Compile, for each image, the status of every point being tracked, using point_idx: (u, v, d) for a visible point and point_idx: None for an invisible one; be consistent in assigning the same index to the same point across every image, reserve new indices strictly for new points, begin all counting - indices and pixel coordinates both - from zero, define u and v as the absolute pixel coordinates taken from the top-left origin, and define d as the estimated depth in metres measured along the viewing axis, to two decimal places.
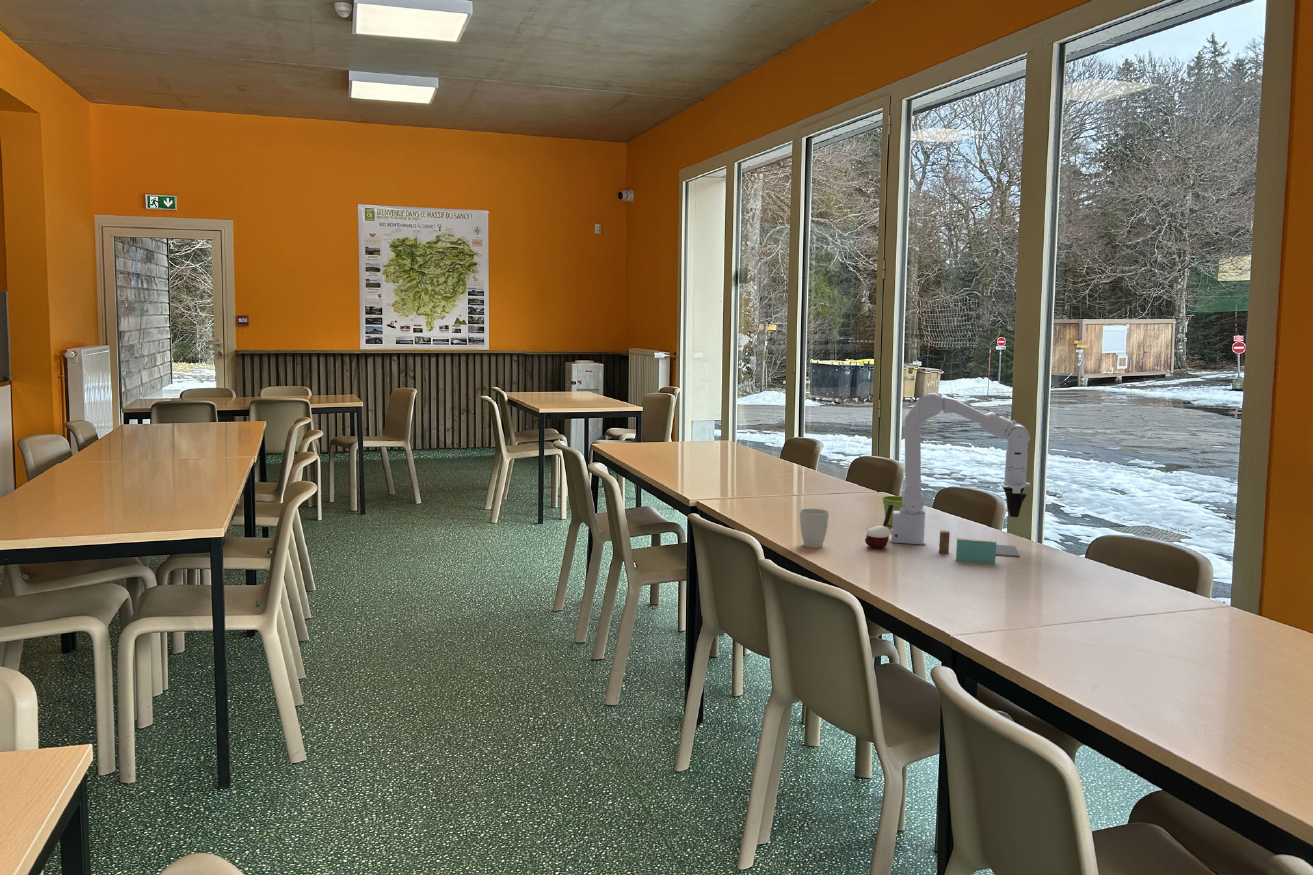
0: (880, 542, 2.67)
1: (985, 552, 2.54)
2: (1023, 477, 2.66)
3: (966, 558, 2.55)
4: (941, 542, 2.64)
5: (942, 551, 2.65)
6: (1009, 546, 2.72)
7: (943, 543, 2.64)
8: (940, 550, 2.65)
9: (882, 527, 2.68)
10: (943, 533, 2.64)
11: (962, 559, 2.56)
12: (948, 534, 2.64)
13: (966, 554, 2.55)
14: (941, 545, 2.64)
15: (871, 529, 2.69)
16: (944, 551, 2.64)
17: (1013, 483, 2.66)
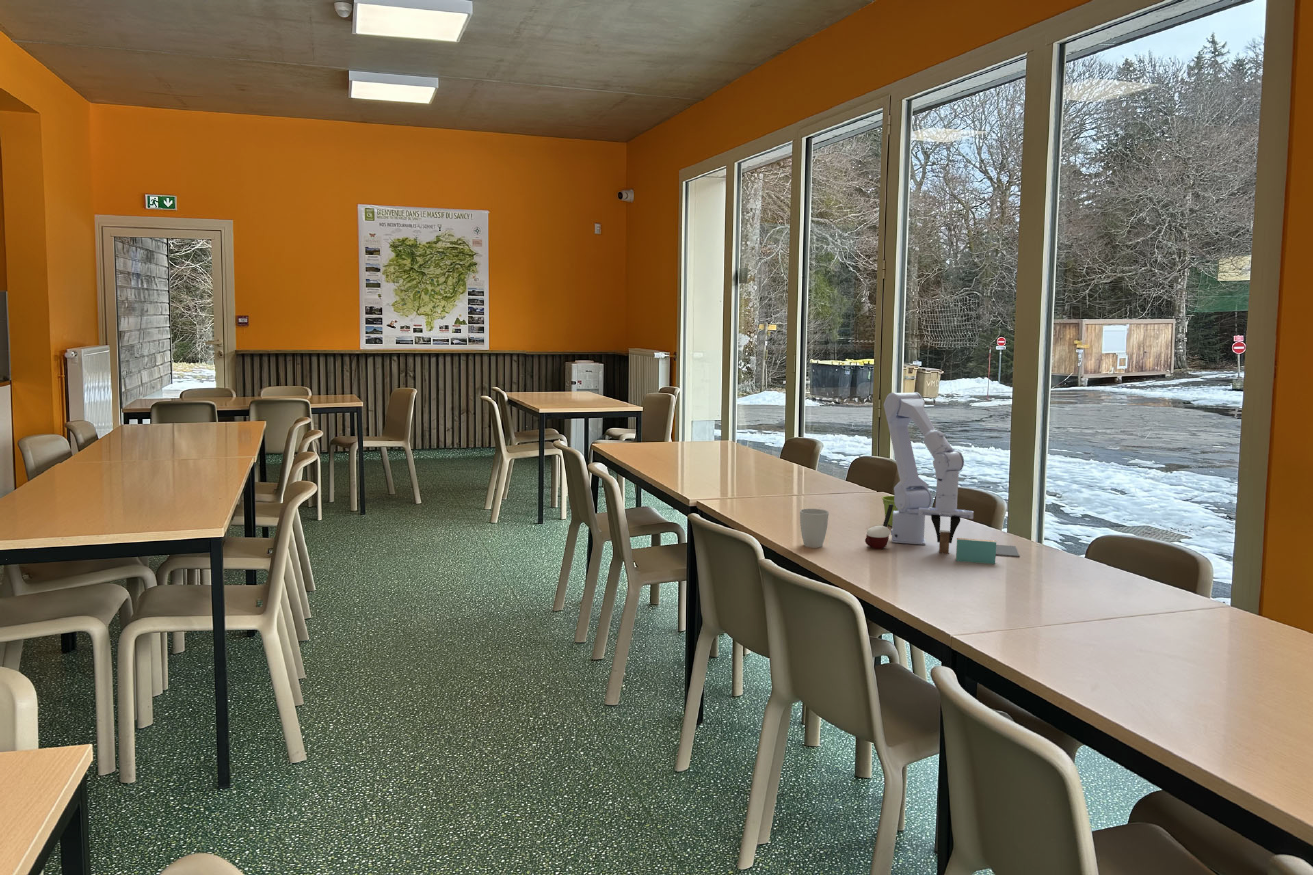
0: (880, 542, 2.67)
1: (985, 552, 2.54)
2: (939, 504, 2.63)
3: (966, 558, 2.55)
4: (941, 542, 2.64)
5: (942, 551, 2.65)
6: (1009, 546, 2.72)
7: (943, 543, 2.64)
8: (940, 550, 2.65)
9: (882, 527, 2.68)
10: (943, 533, 2.64)
11: (962, 559, 2.56)
12: (948, 534, 2.64)
13: (966, 554, 2.55)
14: (941, 545, 2.64)
15: (871, 529, 2.69)
16: (944, 551, 2.64)
17: None
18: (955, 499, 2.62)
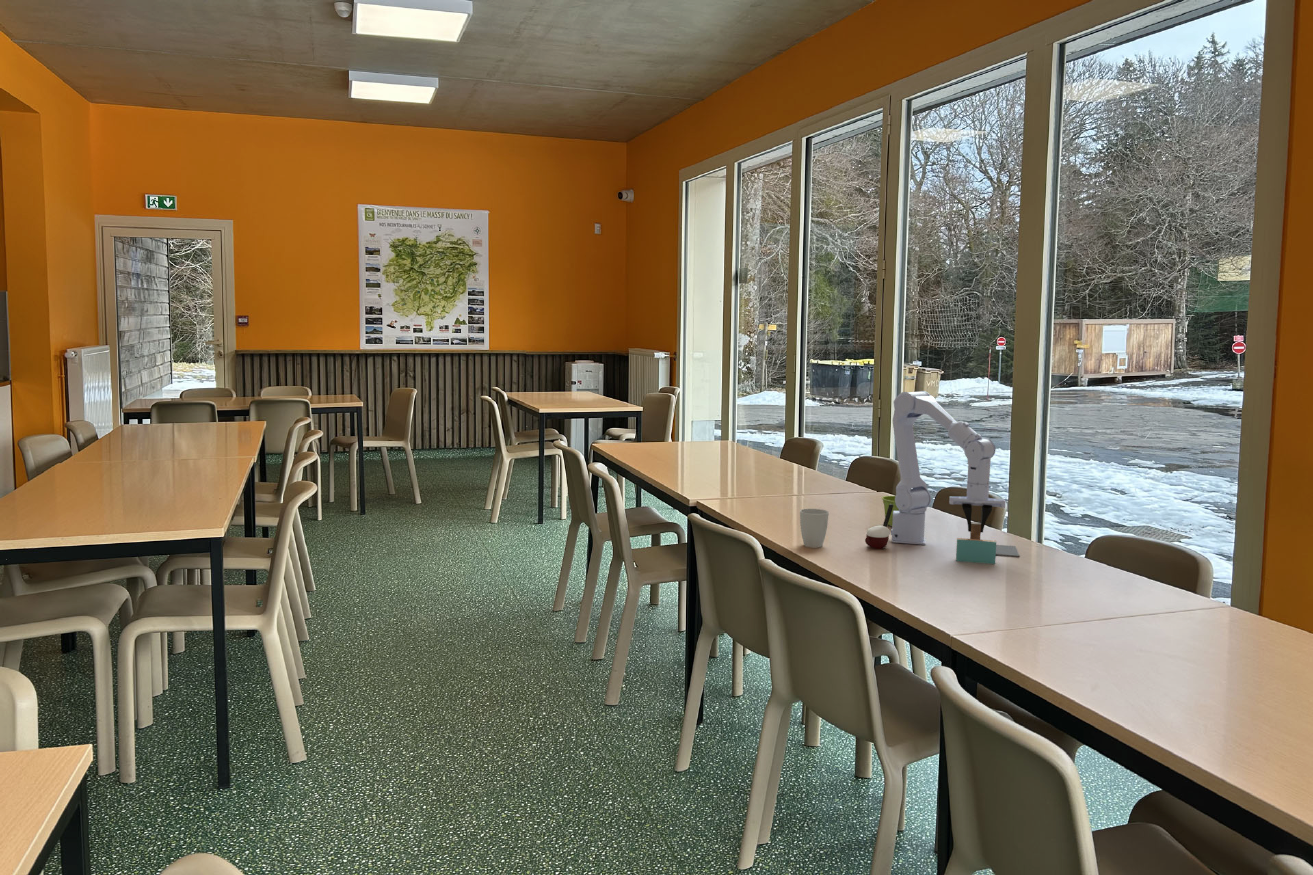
0: (880, 542, 2.67)
1: (985, 552, 2.54)
2: (970, 492, 2.59)
3: (966, 558, 2.55)
4: (972, 534, 2.60)
5: None
6: (1009, 546, 2.72)
7: (975, 535, 2.60)
8: None
9: (882, 527, 2.68)
10: (974, 525, 2.60)
11: (962, 559, 2.56)
12: (979, 526, 2.59)
13: (966, 554, 2.55)
14: (972, 537, 2.60)
15: (871, 529, 2.69)
16: None
17: None
18: (987, 487, 2.58)
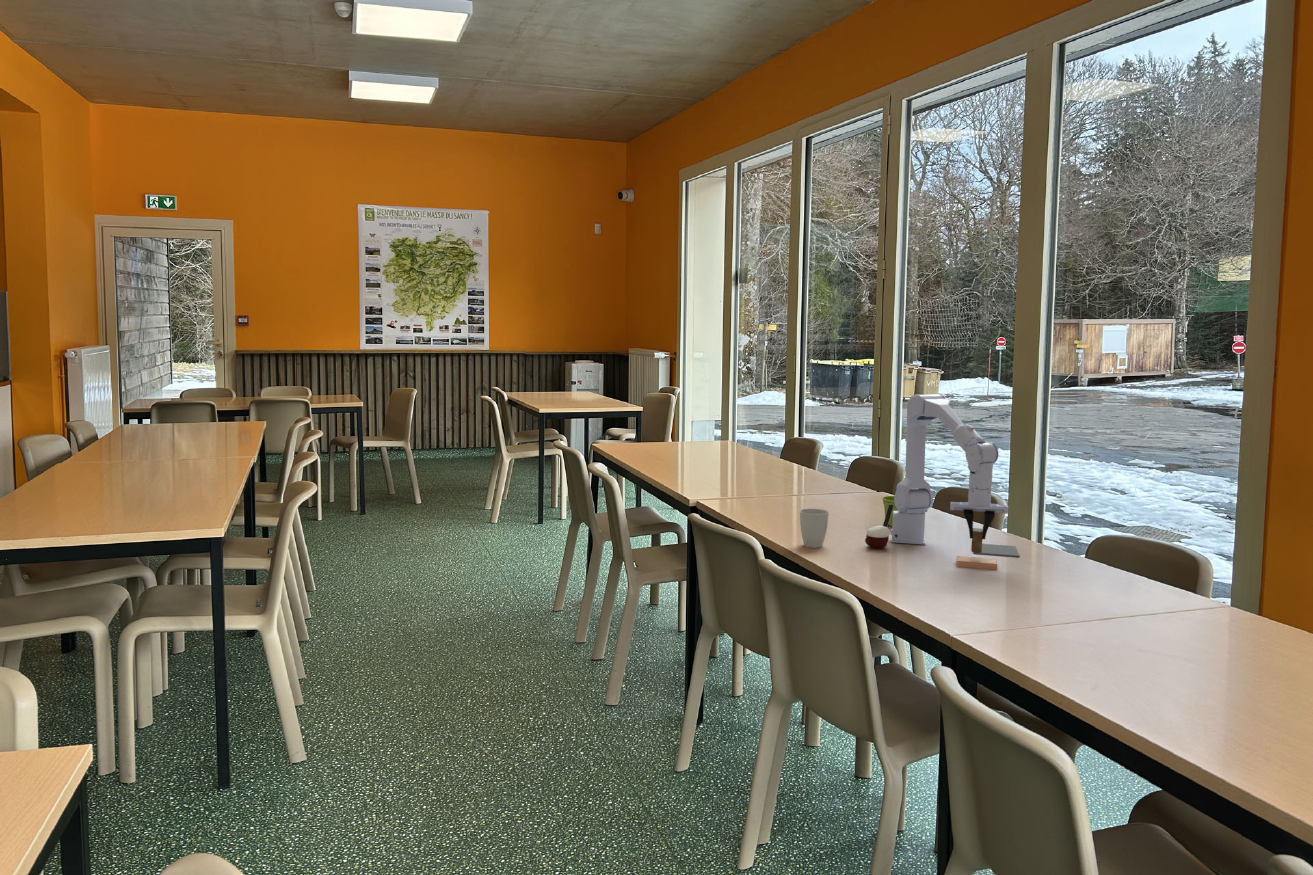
0: (880, 542, 2.67)
1: None
2: (972, 498, 2.50)
3: None
4: (974, 541, 2.52)
5: (975, 550, 2.53)
6: (1009, 546, 2.72)
7: (976, 543, 2.52)
8: (972, 549, 2.53)
9: (882, 527, 2.68)
10: (976, 532, 2.52)
11: None
12: (981, 533, 2.51)
13: None
14: (974, 544, 2.53)
15: (871, 529, 2.69)
16: (977, 550, 2.53)
17: None
18: (989, 493, 2.49)
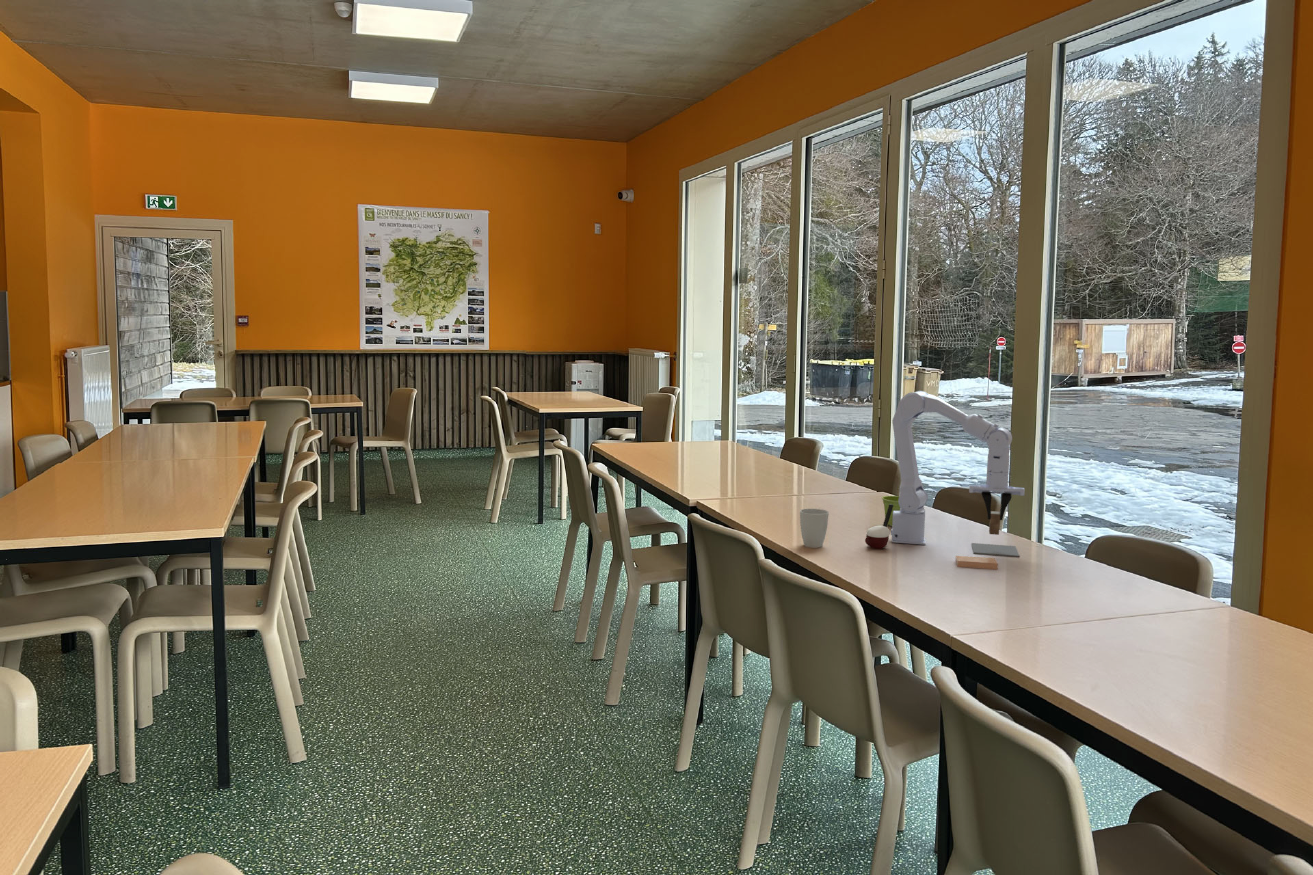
0: (880, 542, 2.67)
1: None
2: (990, 481, 2.63)
3: None
4: (991, 523, 2.65)
5: (992, 532, 2.66)
6: (1009, 546, 2.72)
7: (994, 525, 2.65)
8: (990, 531, 2.66)
9: (882, 527, 2.68)
10: (994, 515, 2.65)
11: None
12: (999, 516, 2.64)
13: None
14: (991, 526, 2.65)
15: (871, 529, 2.69)
16: (994, 532, 2.66)
17: None
18: (1006, 476, 2.62)
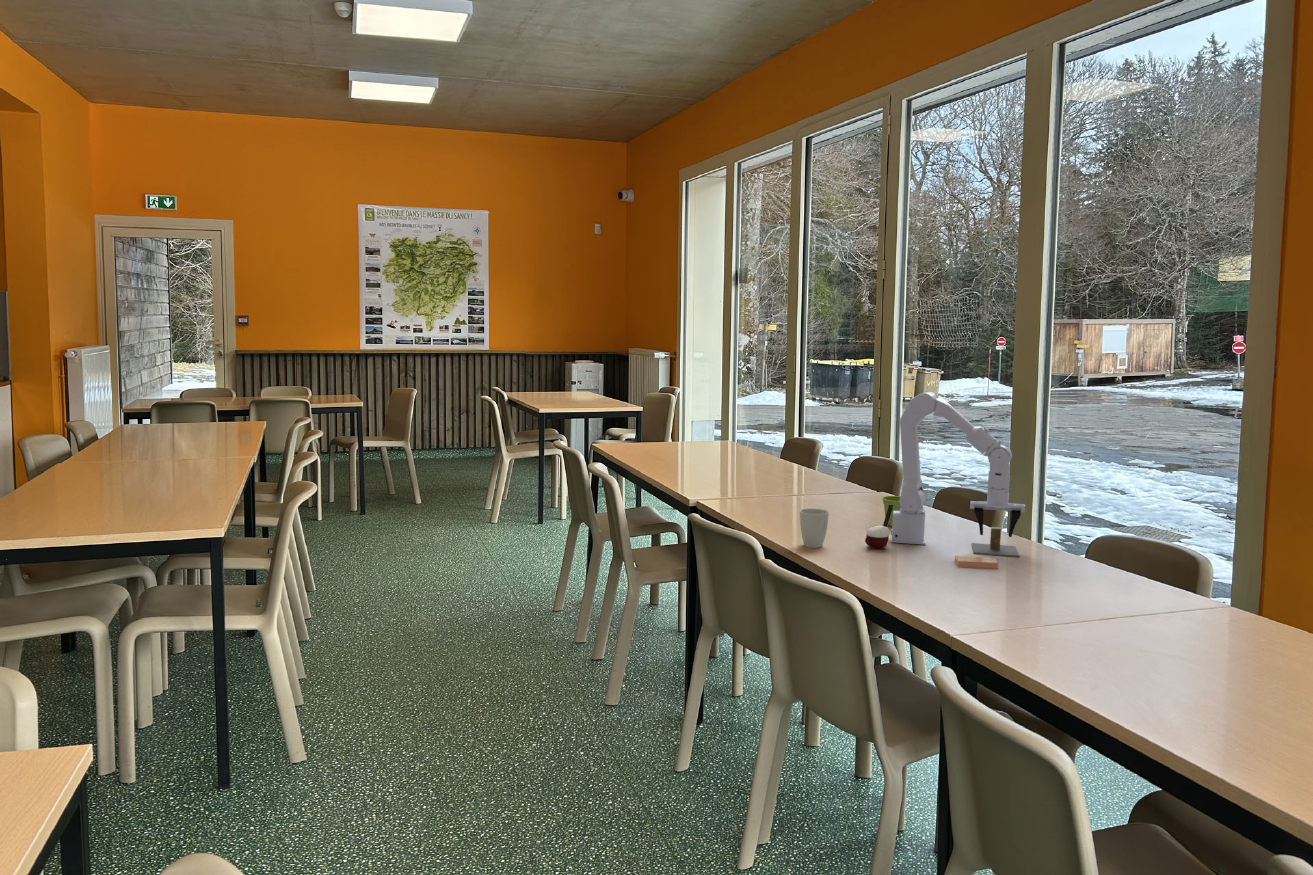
0: (880, 542, 2.67)
1: None
2: (990, 497, 2.65)
3: None
4: (992, 538, 2.68)
5: (993, 547, 2.68)
6: (1009, 546, 2.72)
7: (995, 540, 2.68)
8: (991, 546, 2.68)
9: (882, 527, 2.68)
10: (994, 529, 2.67)
11: None
12: (999, 530, 2.67)
13: None
14: (992, 541, 2.68)
15: (871, 529, 2.69)
16: (995, 547, 2.68)
17: None
18: (1007, 493, 2.64)
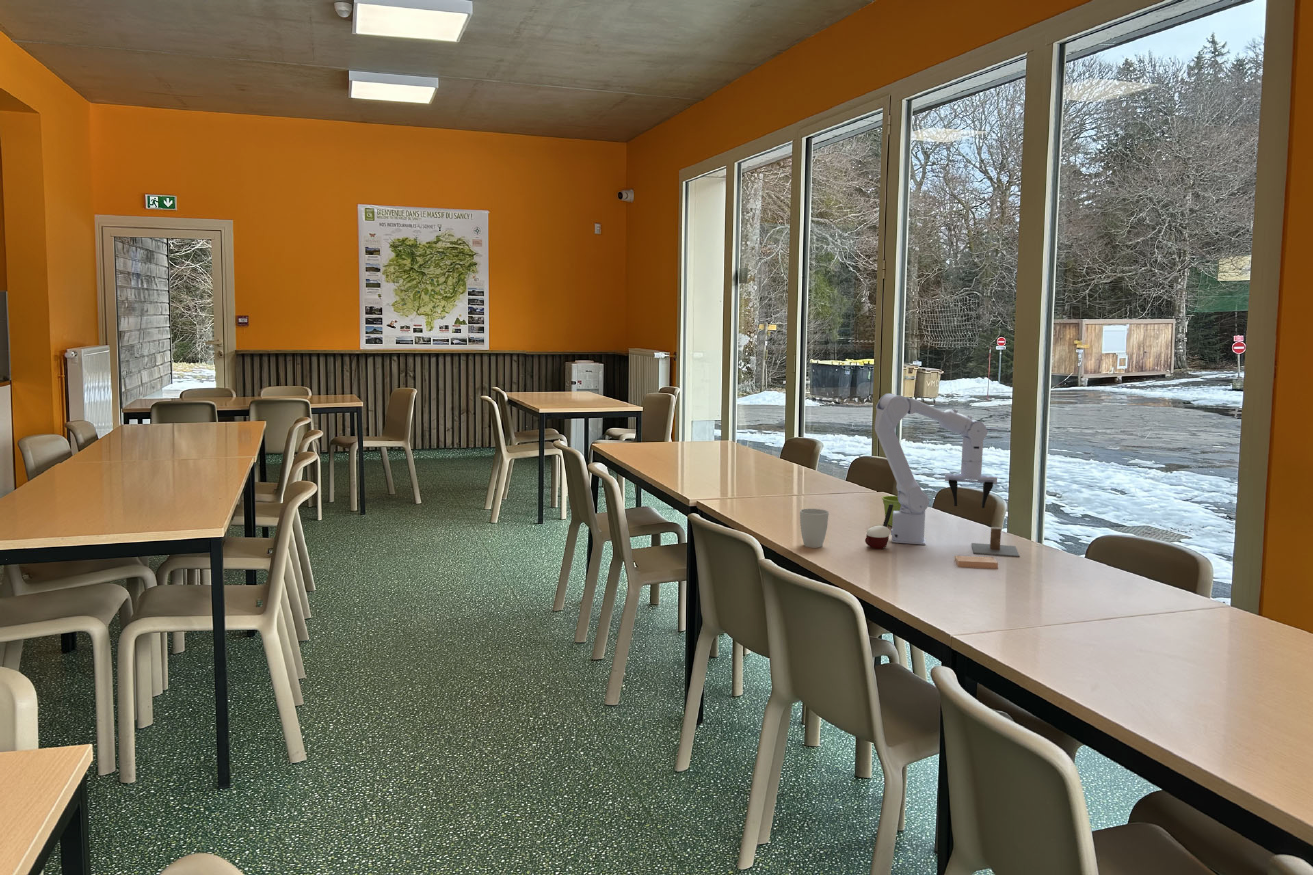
0: (880, 542, 2.67)
1: None
2: (964, 470, 2.76)
3: None
4: (992, 538, 2.68)
5: (993, 547, 2.68)
6: (1009, 546, 2.72)
7: (995, 540, 2.68)
8: (991, 546, 2.68)
9: (882, 527, 2.68)
10: (994, 529, 2.67)
11: None
12: (999, 530, 2.67)
13: None
14: (992, 541, 2.68)
15: (871, 529, 2.69)
16: (995, 547, 2.68)
17: None
18: (980, 465, 2.75)
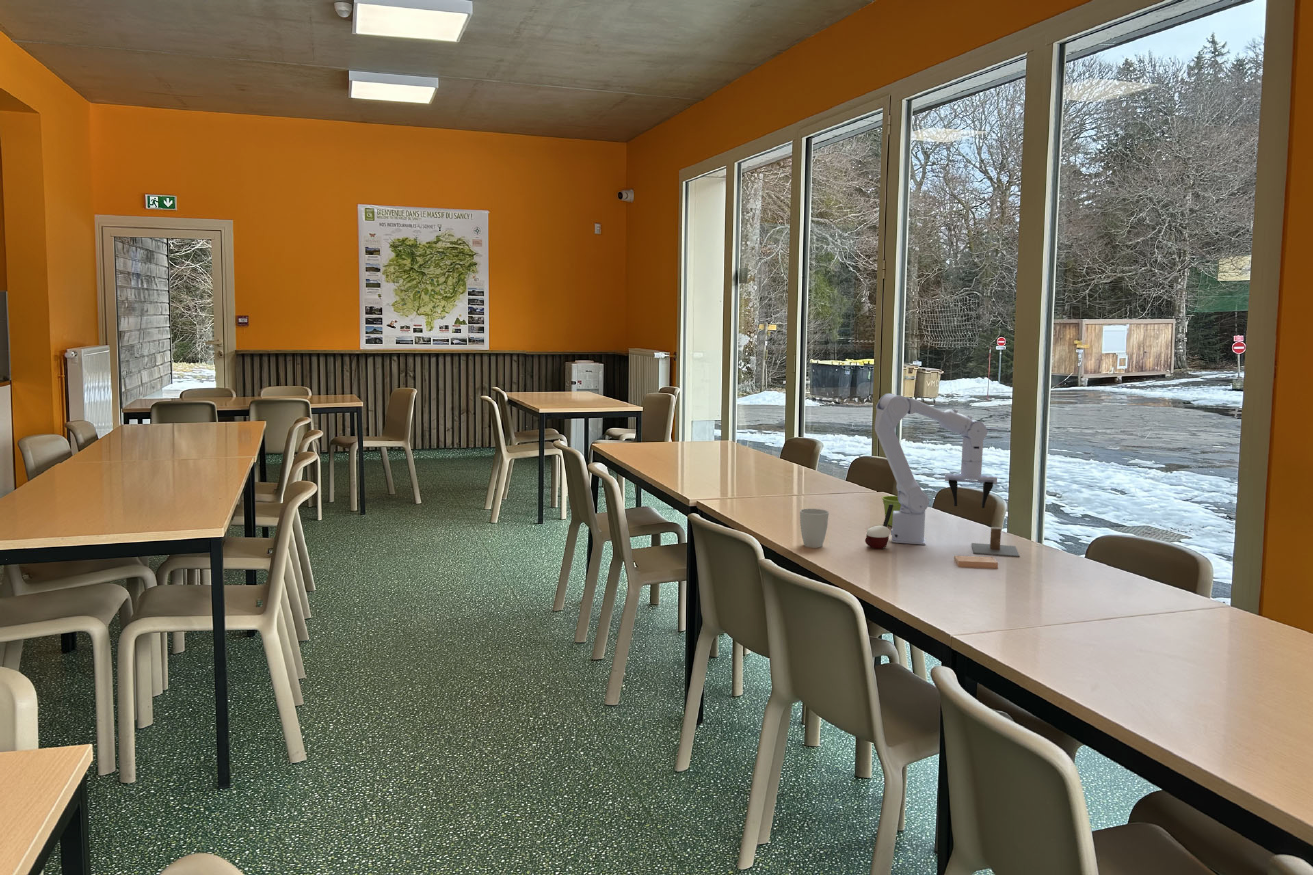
0: (880, 542, 2.67)
1: None
2: (964, 470, 2.76)
3: None
4: (992, 538, 2.68)
5: (993, 547, 2.68)
6: (1009, 546, 2.72)
7: (995, 540, 2.68)
8: (991, 546, 2.68)
9: (882, 527, 2.68)
10: (994, 529, 2.67)
11: None
12: (999, 530, 2.67)
13: None
14: (992, 541, 2.68)
15: (871, 529, 2.69)
16: (995, 547, 2.68)
17: None
18: (980, 465, 2.75)
